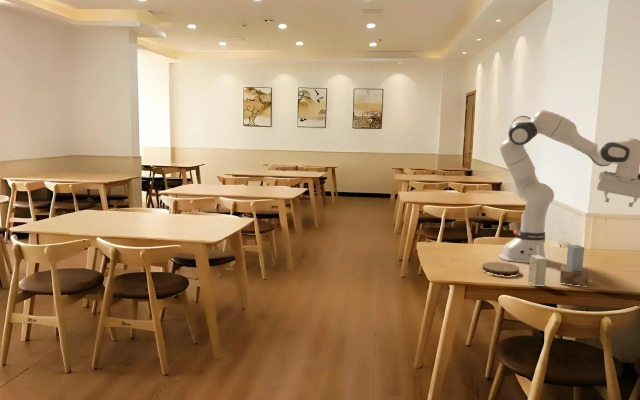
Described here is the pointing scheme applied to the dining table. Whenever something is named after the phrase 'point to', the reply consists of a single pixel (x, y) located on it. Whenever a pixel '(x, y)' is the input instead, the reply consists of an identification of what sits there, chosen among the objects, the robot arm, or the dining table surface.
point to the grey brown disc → (501, 268)
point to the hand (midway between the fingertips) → (618, 204)
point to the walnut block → (574, 276)
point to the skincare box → (537, 270)
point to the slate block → (575, 257)
